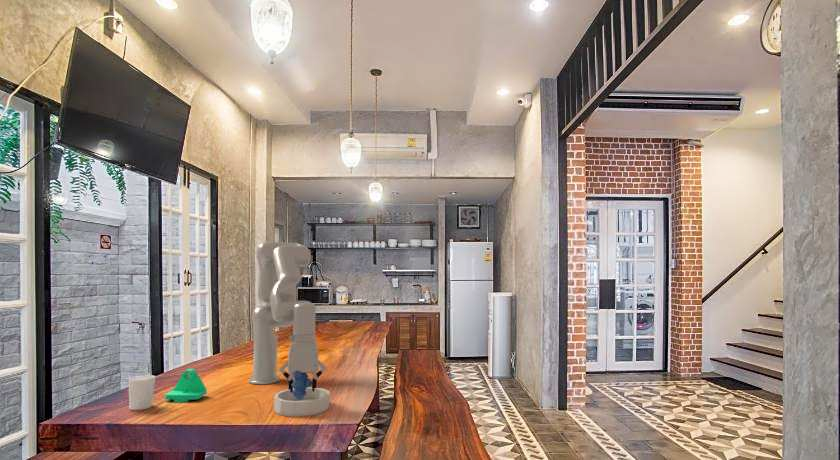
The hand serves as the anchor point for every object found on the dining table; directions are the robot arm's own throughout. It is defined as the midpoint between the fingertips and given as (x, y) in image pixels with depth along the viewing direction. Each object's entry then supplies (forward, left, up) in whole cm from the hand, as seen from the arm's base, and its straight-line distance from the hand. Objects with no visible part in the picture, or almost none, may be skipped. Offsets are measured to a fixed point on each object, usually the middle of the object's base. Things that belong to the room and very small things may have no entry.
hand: (302, 390), depth 165 cm
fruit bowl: (0, 0, -6) cm, 6 cm away
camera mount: (-20, -42, -6) cm, 46 cm away
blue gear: (0, 0, -3) cm, 3 cm away
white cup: (-12, -54, -6) cm, 56 cm away
